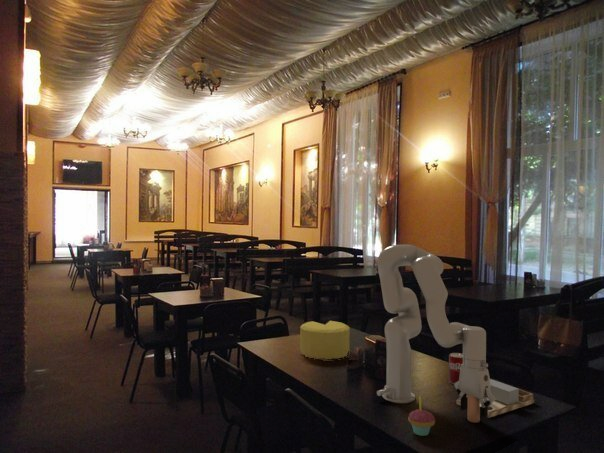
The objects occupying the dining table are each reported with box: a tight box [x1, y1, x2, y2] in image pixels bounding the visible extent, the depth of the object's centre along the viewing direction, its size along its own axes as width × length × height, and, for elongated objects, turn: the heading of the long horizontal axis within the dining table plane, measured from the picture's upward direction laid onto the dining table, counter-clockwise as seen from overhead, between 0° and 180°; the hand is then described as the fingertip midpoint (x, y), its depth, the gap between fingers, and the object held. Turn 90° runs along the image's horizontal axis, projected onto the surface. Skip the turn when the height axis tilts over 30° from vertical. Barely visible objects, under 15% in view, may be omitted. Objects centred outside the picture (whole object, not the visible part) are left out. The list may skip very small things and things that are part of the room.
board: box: [455, 388, 535, 419], centre depth 168 cm, size 27×14×4 cm, turn 120°
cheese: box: [299, 320, 351, 359], centre depth 234 cm, size 26×26×15 cm
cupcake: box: [407, 395, 436, 437], centre depth 144 cm, size 9×8×12 cm
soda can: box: [448, 352, 463, 385], centre depth 191 cm, size 7×7×12 cm
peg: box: [466, 395, 481, 423], centre depth 154 cm, size 4×4×9 cm
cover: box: [490, 378, 520, 405], centre depth 169 cm, size 6×12×5 cm, turn 30°
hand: (473, 413), depth 154 cm, fingers open, 7 cm apart
